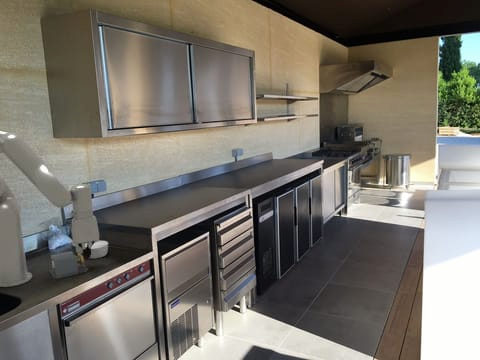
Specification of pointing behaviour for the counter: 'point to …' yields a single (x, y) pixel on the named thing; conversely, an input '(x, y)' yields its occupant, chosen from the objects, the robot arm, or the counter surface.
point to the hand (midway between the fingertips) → (87, 257)
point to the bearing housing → (66, 265)
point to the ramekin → (98, 249)
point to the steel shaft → (79, 259)
